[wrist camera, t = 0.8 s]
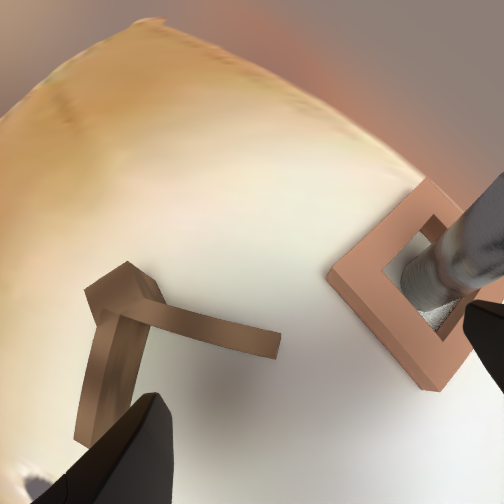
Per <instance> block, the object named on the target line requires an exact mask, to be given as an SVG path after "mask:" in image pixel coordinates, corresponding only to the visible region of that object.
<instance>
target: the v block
mask: <svg viewBox="0 0 504 504" xmlns="http://www.w3.org/2000/svg"><path fill="white" fill-rule="evenodd" d="M84 292H85V295H86V298H87V301H88V304H89V307H90V309H91V312H92V315H93V318H94V320H95V323H96V326H97V328H96V332H95V336H94V339H93V343H92V347H91V351H90V355H89V359H88V363H87V368H86V372H85V377H84V381H83V386H82V391H81V396H80V402H79V407H78V413H77V419H76V425H75V432H74V440H75V441H77V442H79V443H80V444H82V445H84V446H85V447H87V448H89V449H90V448H91V447H92V446H93V445H94V444H95V443H96V442H97V441H98V440H99V439H100V438H101V437H102V436H103V435H104V434H105V433H106V432H107V431H108V430H109V429H110V428H111V427H112V426H113V425H114V424H115V423H116V422H117V421H118V420H119V418H120V417H121V416H122V415H123V414H124V413H125V412H126V411H127V410H128V409H129V408H130V404H131V399H132V395H133V390H134V386H135V382H136V378H137V374H138V370H139V366H140V362H141V358H142V354H143V351H144V347H145V343H146V339H147V336H148V332H149V329H150V325H151V326H154V327H157V328H160V329H164V330H167V331H170V332H173V333H176V334H180V335H183V336H186V337H190V338H193V339H197V340H200V341H204V342H207V343H211V344H215V345H218V346H222V347H226V348H230V349H234V350H238V351H242V352H246V353H250V354H254V355H258V356H263V357H267V358H272V359H276V356H277V352H278V348H279V344H280V340H281V333H277V332H272V331H268V330H263V329H259V328H254V327H250V326H246V325H242V324H237V323H233V322H229V321H225V320H221V319H217V318H213V317H209V316H206V315H202V314H198V313H194V312H191V311H187V310H183V309H180V308H176V307H173V306H169V305H167V304H166V302H165V300H164V298H163V296H162V294H161V292H160V290H159V288H158V286H157V284H156V281H155V280H153V279H152V278H150V277H149V276H148V275H146V274H145V273H144V272H142V271H141V270H139V269H138V268H137V267H135V266H134V265H133V264H131V263H130V262H129V261H126V262H125V263H123V264H122V265H120V266H119V267H117V268H116V269H114V270H113V271H111V272H110V273H108V274H106V275H105V276H103V277H102V278H100V279H99V280H97V281H96V282H95V283H93V284H92V285H90V286H89V287H87V288H86V289H84Z"/></svg>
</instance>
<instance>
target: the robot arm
mask: <svg viewBox="0 0 504 504" xmlns="http://www.w3.org/2000/svg"><path fill="white" fill-rule="evenodd" d="M463 332H464V334H465V336H466V337H467V339H468V341H469V342H470V344H471V345H472V347H473V349H474V350H475V352H476V353H477V355H478V357H479V358H480V360H481V362H482V363H483V365H484V367H485V368H486V370H487V371H488V373H489V374H490V375H491V377H492V378H493V380H494V381H495V382H496V384H497V385H498V387H499V388H500V389H501V391H502V392H503V394H504V304H501V303H495V302H490V301H485V300H479V299H476V300H473V301H471V302H469V303H468V304H467V305H466V307H465V313H464V320H463ZM173 473H174V453H173V426H172V415H171V412H170V410H169V409H168V407H167V405H166V404H165V402H164V400H163V399H162V397H161V395H160V394H159V393H156V392H154V393H146V394H143V395H142V396H141V397H140V398H139V399H138V400H137V401H136V402H135V403H134V404H133V405H132V406H131V407H130V408H129V409H128V410H127V411H126V412H125V413H124V414H123V415H122V416H121V417H120V418H119V420H118V421H117V422H116V423H115V424H114V425H113V426H112V427H111V428H110V429H109V430H108V431H107V432H106V433H105V434H104V435H103V436H102V437H101V438H100V439H99V440H98V441H97V442H96V443H95V444H94V445H93V446H92V447H91V448H90V449H89V450H88V451H87V452H86V453H85V454H84V455H83V456H82V457H81V458H80V459H79V460H78V461H77V462H76V463H75V464H74V465H73V466H72V467H71V468H70V469H68V470H67V471H66V474H63V475H62V476H61V477H60V478H59V479H58V480H57V481H56V482H55V483H54V484H53V485H52V486H51V487H50V488H49V489H48V490H46V491H45V492H44V493H43V494H42V495H41V496H39V497H38V498H37V499H36V500H34V501H33V502H32V503H30V504H172V488H173Z"/></svg>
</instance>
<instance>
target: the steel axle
mask: <svg viewBox="0 0 504 504" xmlns="http://www.w3.org/2000/svg"><path fill="white" fill-rule="evenodd" d="M502 277H504V172H503V173H501V174H500V175H499V176H498V177H497V179H496V180H495V181H494V182H493V183H492V184H491V185H490V186H489V187H488V188H487V190H486V191H485V192H484V193H483V194H482V195H481V196H480V197H479V198H478V199H477V200H476V201H475V202H474V203H473V204H472V205H471V206H470V207H469V208H468V209H467V210H466V211H465V212H464V213H463V214H462V215H461V216H460V217H459V218H458V219H457V220H456V221H455V222H454V223H453V224H452V225H451V226H450V227H449V228H448V229H447V230H446V231H445V232H444V233H443V234H442V235H441V236H440V237H438V238H437V239H436V240H435V241H434V242H433V243H432V244H431V245H430V246H429V247H428V248H426V249H425V250H424V251H423V252H422V253H421V254H420V255H419V256H417V257H416V258H415V259H414V260H413V261H412V262H411V263H409V264H408V265H407V266H406V268H405V269H404V271H403V274H402V277H401V289H402V293H403V295H404V296H405V297H406V299H407V300H408V301H409V302H410V303H411V304H412V305H413V307H414V308H415V309H416V310H419V311H424V312H426V311H431V310H434V309H436V308H438V307H441V306H443V305H445V304H448V303H450V302H452V301H454V300H457V299H459V298H461V297H463V296H465V295H468V294H470V293H472V292H474V291H476V290H478V289H480V288H482V287H484V286H486V285H488V284H490V283H492V282H494V281H496V280H498V279H500V278H502Z"/></svg>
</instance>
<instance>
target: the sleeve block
mask: <svg viewBox="0 0 504 504" xmlns="http://www.w3.org/2000/svg"><path fill="white" fill-rule="evenodd" d="M461 215H462V212H461V211H460V210H459V209H458V208H457V207H456V206H455V205H454V204H453V203H452V202H451V201H450V200H449V199H448V198H447V197H446V196H445V195H444V194H443V193H442V192H441V191H440V190H439V189H438V188H437V187H436V186H435V185H434V184H433V183H432V182H431V181H430V180H429V179H428V178H427V177H426V178H425V179H424V180H423V181H422V182H421V183H420V184H419V185H418V186H417V187H416V188H415V189H414V190H413V191H412V192H411V193H410V194H409V195H408V196H407V197H406V198H405V199H404V200H403V201H402V202H401V203H400V204H399V205H398V206H397V207H396V208H395V209H394V210H393V211H392V212H391V213H390V214H389V215H388V216H387V217H386V218H385V219H383V220H382V221H381V222H380V223H379V224H378V225H377V226H376V227H375V228H374V229H373V230H372V231H371V232H370V233H369V234H368V235H367V236H365V237H364V238H363V239H362V240H361V241H360V242H359V243H358V244H357V245H356V246H355V247H354V248H352V249H351V250H350V251H349V252H348V253H347V254H346V255H345V256H344V257H343V258H341V259H340V260H339V261H338V262H337V263H336V264H335V265H334V266H333V267H332V268H331V270H330V272H329V273H328V275H327V277H326V280H327V281H328V283H329V284H330V285H331V286H332V287H333V288H334V289H335V290H336V291H337V292H338V294H339V295H340V296H341V297H342V298H343V299H344V300H345V301H346V302H347V304H348V305H349V306H350V307H351V308H352V309H353V310H354V311H355V313H356V314H357V315H358V316H359V317H360V318H361V319H362V321H363V322H364V323H365V324H366V325H367V326H368V327H369V328H370V330H371V331H372V332H373V333H374V334H375V335H376V336H377V338H378V339H379V340H380V341H381V342H382V343H383V345H384V346H385V347H386V348H387V349H388V350H389V352H390V353H391V354H392V355H393V356H394V357H395V359H396V360H397V361H398V362H399V363H400V364H401V366H402V367H403V368H404V369H405V370H406V372H407V373H408V374H409V375H410V376H411V378H412V379H413V380H414V381H415V382H416V384H417V385H418V386H419V387H420V388H421V390H427V391H435V392H440V391H441V390H442V389H443V388H444V387H445V385H446V384H447V383H448V382H449V380H450V379H451V378H452V377H453V375H454V374H455V373H456V371H457V370H458V369H459V368H460V366H461V365H462V364H463V362H464V361H465V359H466V358H467V357H468V355H469V354H470V352H471V351H472V350H473V347H472V345H471V344H470V342H469V341H468V339H467V337H466V336H465V334H464V332H463V320H464V313H465V307H466V305H467V304H468V303H469V302H471V301H473V300H476V299H479V300H485V301H490V302H495V303H502V301H503V300H504V277H502V278H500V279H498V280H496V281H494V282H492V283H490V284H488V285H486V286H484V287H482V288H480V289H478V290H476V291H474V292H472V293H470V294H468V295H465V296H463V297H462V298H461V299H460V301H459V302H458V304H457V305H456V306H455V308H454V309H453V311H452V312H451V313H450V315H449V316H448V317H447V319H446V320H445V321H444V322H443V324H442V325H441V326H440V328H439V329H438V330H437V331H436V333H435V332H434V331H433V329H432V328H431V327H430V326H429V324H428V323H427V322H426V321H425V320H424V318H423V317H422V316H421V315H420V314H419V313H418V311H417V310H416V309H415V308H414V307H413V305H412V304H411V303H410V302H409V301H408V300H407V299H406V297H405V296H404V295H403V294H402V293H401V292H400V291H399V289H398V288H397V287H396V286H395V285H394V284H393V283H392V282H391V280H390V279H389V278H388V277H387V276H386V275H385V274H384V273H383V272H382V271H381V270H382V269H383V268H384V267H385V266H386V265H387V264H388V263H389V262H390V261H391V260H392V259H393V258H394V257H395V256H396V255H397V254H398V253H399V252H400V251H401V250H402V248H403V247H404V246H405V245H406V244H407V243H408V242H409V241H410V240H411V239H412V238H413V236H414V235H415V234H416V233H417V232H418V231H419V230H420V231H421V232H422V233H423V234H424V235H425V236H426V237H427V238H428V239H429V240H430V241H431V243H433V242H434V241H435V240H436V239H437V238H438V237H440V236H441V235H442V234H443V233H444V232H445V231H446V230H447V229H448V228H449V227H450V226H451V225H452V224H453V223H454V222H455V221H456V220H457V219H458V218H459V217H460V216H461Z"/></svg>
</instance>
